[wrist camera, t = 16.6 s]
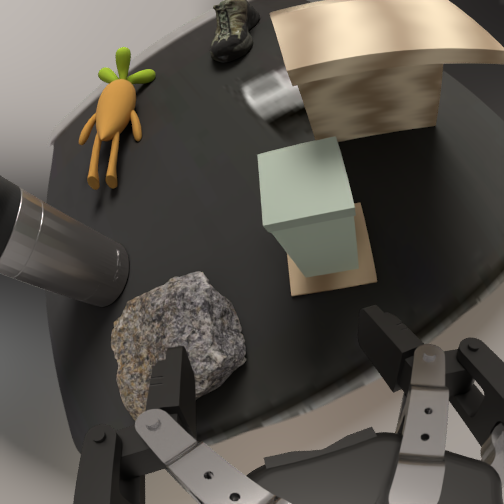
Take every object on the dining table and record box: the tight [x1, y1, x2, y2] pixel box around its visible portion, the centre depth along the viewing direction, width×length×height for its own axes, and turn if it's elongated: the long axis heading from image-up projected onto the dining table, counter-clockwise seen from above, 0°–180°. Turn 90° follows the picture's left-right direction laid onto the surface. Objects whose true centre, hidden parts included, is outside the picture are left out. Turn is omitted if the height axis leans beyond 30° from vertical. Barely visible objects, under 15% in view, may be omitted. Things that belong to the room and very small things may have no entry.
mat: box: [287, 203, 377, 296], centre depth 28 cm, size 8×8×1 cm
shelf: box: [270, 0, 504, 142], centre depth 21 cm, size 15×10×17 cm, turn 95°
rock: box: [111, 271, 246, 420], centre depth 27 cm, size 13×6×15 cm
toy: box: [79, 47, 155, 190], centre depth 46 cm, size 13×14×30 cm
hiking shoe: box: [210, 0, 260, 63], centre depth 44 cm, size 8×21×9 cm, turn 173°
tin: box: [258, 136, 359, 277], centre depth 22 cm, size 5×5×12 cm
